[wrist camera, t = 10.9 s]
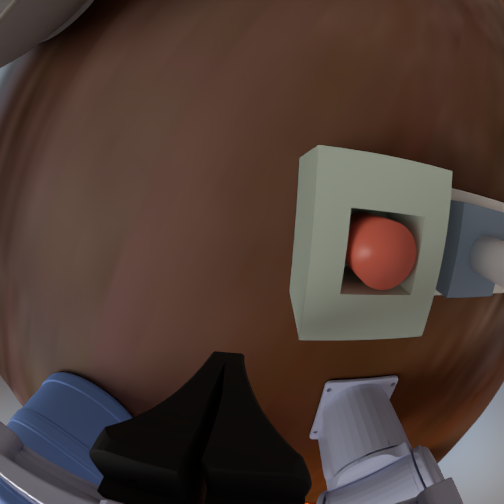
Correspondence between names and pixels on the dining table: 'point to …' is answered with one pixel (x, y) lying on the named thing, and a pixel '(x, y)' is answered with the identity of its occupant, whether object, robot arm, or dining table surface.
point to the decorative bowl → (34, 23)
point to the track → (336, 238)
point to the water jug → (64, 426)
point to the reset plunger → (379, 250)
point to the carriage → (472, 252)
